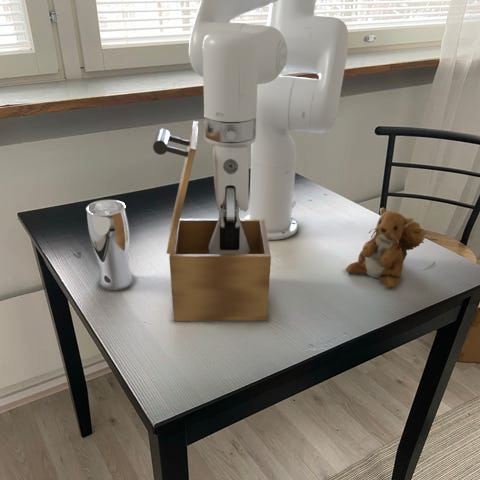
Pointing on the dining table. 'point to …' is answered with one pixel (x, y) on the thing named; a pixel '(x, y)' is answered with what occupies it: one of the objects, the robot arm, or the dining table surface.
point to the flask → (215, 240)
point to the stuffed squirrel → (388, 248)
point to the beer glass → (110, 242)
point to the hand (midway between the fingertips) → (229, 240)
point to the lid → (161, 148)
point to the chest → (219, 274)
